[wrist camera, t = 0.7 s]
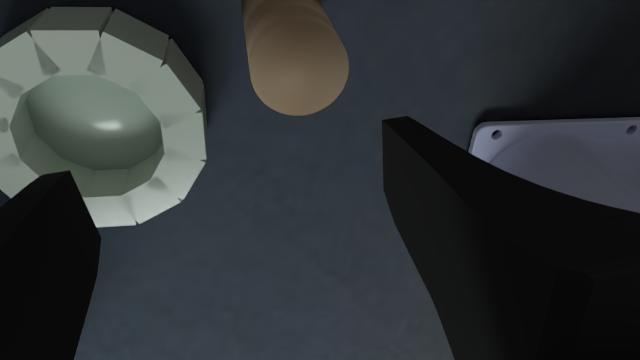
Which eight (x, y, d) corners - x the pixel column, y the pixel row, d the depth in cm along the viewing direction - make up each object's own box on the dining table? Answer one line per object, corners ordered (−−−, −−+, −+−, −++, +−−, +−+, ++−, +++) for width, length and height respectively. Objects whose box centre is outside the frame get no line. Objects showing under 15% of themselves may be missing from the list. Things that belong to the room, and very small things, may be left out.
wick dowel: (318, -31, 19) (353, 21, 14) (314, 44, 20) (344, 114, 15) (240, -32, 18) (248, 21, 13) (243, 44, 20) (251, 116, 15)
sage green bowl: (197, 7, 19) (195, 30, 17) (212, 185, 23) (211, 220, 21) (-43, 6, 17) (-77, 30, 15) (22, 195, 22) (2, 233, 20)
